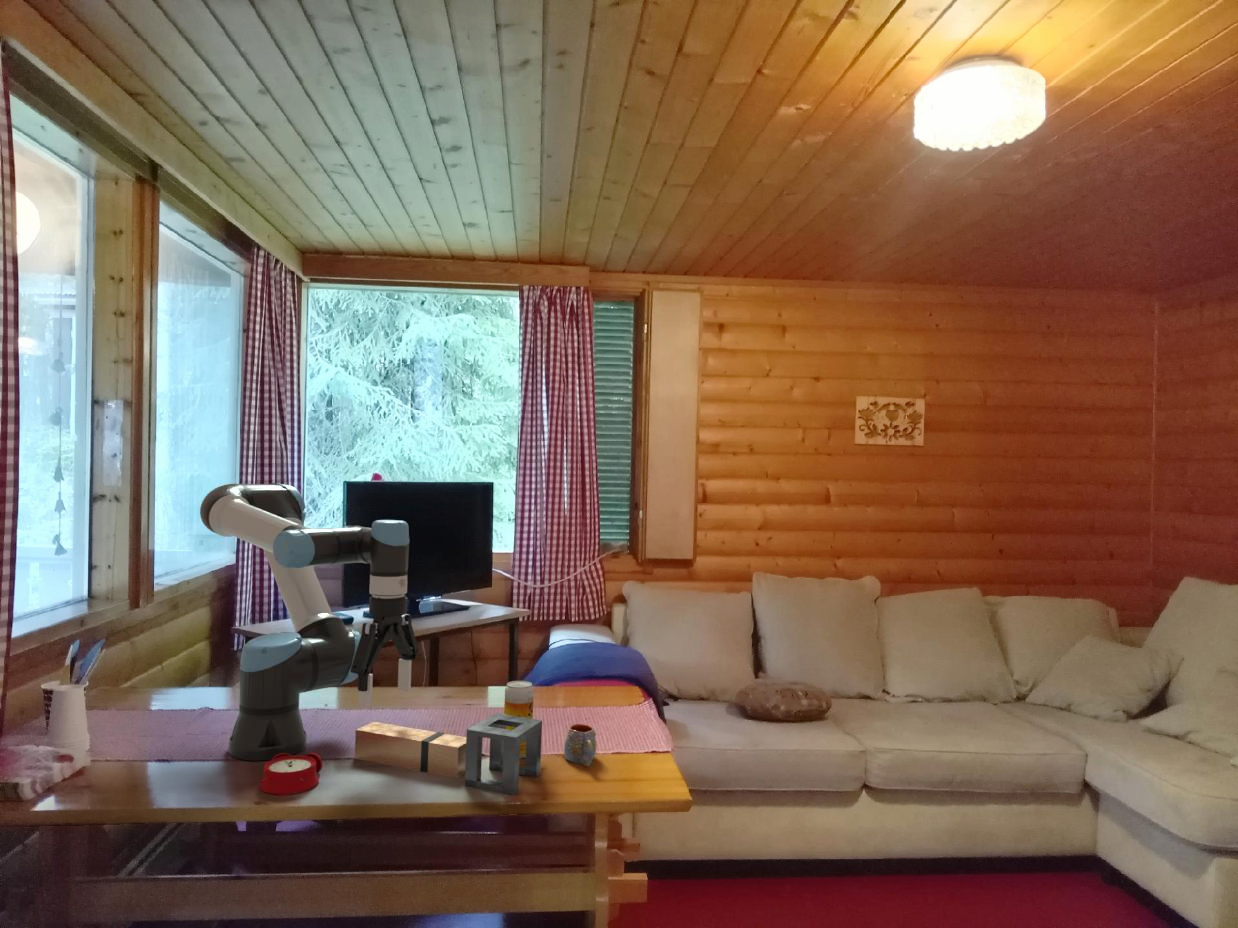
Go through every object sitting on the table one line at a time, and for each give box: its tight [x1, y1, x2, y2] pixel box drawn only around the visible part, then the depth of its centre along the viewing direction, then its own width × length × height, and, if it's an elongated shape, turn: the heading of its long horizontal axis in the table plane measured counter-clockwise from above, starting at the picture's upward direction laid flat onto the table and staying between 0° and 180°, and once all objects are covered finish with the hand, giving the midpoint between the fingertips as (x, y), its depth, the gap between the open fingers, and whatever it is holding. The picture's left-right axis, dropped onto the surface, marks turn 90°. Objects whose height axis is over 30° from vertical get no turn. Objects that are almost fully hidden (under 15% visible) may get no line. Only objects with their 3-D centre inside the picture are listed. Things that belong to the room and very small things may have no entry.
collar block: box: [464, 712, 543, 796], centre depth 167 cm, size 10×12×11 cm
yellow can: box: [503, 680, 535, 759], centre depth 181 cm, size 6×6×15 cm
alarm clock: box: [259, 752, 323, 797], centre depth 162 cm, size 10×6×15 cm
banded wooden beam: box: [354, 721, 466, 779], centre depth 174 cm, size 24×6×6 cm, turn 70°
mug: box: [563, 723, 597, 767], centre depth 178 cm, size 12×7×7 cm, turn 14°
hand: (385, 698), depth 176 cm, fingers open, 13 cm apart
